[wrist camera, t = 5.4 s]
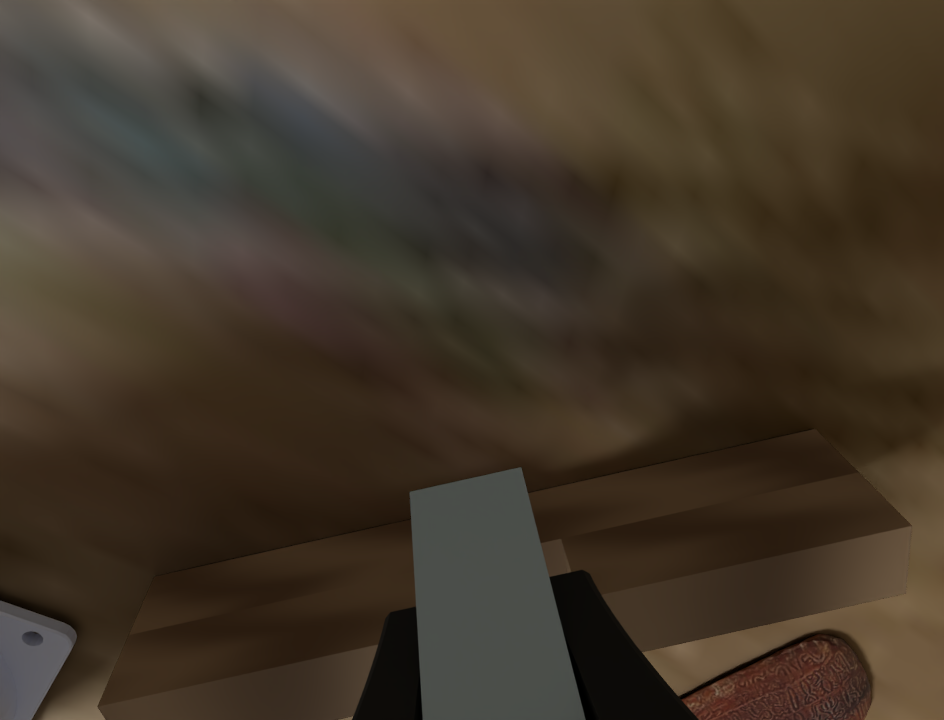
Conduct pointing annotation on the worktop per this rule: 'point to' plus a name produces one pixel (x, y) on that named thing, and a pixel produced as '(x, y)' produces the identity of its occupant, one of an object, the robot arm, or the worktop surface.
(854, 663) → the wooden tablet
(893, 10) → the worktop surface
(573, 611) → the robot arm
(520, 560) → the grey notched plate
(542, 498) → the walnut slotted rail
